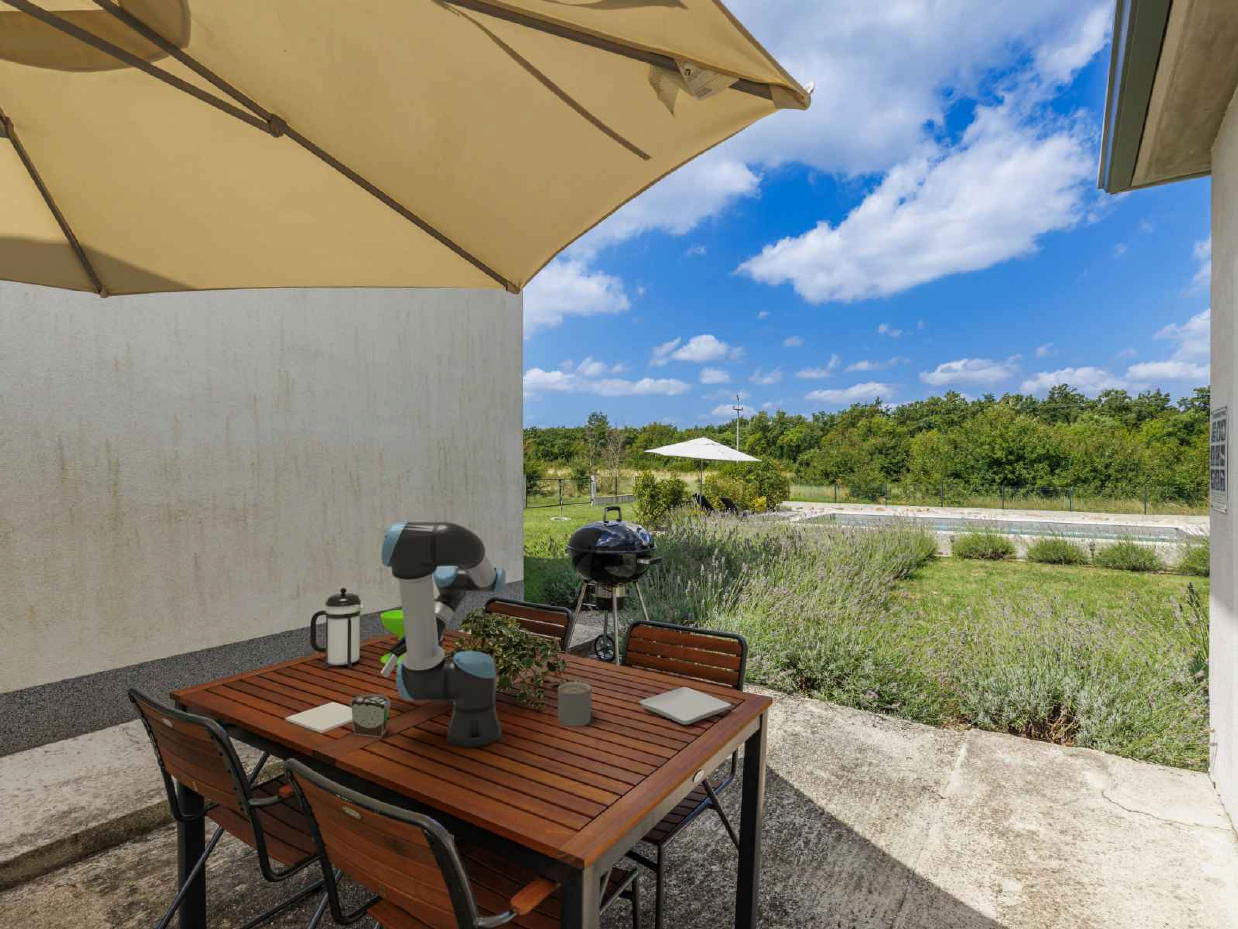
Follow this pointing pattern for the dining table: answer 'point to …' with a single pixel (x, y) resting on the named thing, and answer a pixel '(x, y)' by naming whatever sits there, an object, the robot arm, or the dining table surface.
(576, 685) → the grey canister
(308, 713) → the ceramic tile
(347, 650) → the coffee press
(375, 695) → the food container
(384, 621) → the wineglass
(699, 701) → the salad plate
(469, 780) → the dining table surface
